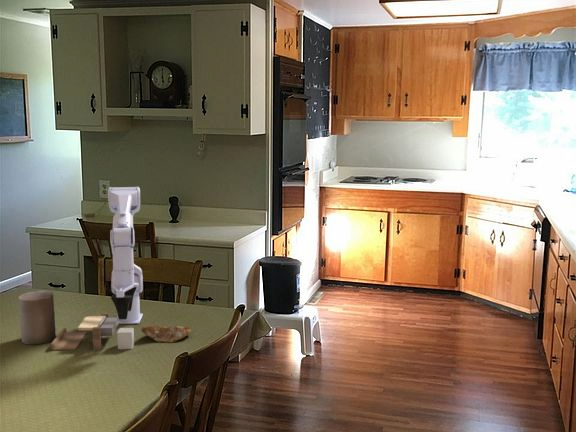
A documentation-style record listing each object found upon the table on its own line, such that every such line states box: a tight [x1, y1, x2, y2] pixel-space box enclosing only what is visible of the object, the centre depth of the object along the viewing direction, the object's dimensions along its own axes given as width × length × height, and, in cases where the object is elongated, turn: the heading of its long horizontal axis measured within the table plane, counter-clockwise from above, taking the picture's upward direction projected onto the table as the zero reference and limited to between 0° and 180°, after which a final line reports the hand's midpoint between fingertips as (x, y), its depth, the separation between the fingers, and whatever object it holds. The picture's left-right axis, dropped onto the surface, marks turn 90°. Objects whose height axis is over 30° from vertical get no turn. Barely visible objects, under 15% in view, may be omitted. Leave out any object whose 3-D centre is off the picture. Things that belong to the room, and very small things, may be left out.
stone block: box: [116, 327, 135, 350], centre depth 184 cm, size 4×4×5 cm
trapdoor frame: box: [50, 312, 110, 351], centre depth 188 cm, size 15×14×6 cm
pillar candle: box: [18, 290, 57, 345], centre depth 188 cm, size 10×10×15 cm
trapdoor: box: [77, 315, 119, 337], centre depth 188 cm, size 11×10×3 cm
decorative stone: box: [141, 324, 192, 344], centre depth 192 cm, size 10×4×15 cm
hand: (125, 314), depth 183 cm, fingers open, 7 cm apart
